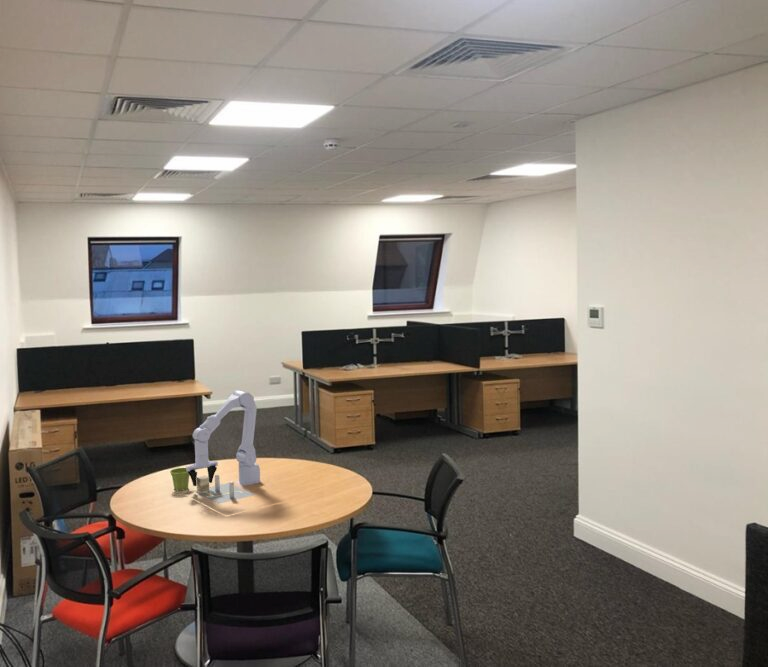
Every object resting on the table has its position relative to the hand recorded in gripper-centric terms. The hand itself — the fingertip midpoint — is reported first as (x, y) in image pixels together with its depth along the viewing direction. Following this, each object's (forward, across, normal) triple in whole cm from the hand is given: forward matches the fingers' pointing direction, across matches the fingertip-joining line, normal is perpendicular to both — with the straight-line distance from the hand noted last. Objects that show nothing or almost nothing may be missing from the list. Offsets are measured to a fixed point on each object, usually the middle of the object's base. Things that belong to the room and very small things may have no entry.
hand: (202, 484), depth 330 cm
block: (+3, 0, 0) cm, 3 cm away
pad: (+4, 0, 0) cm, 4 cm away
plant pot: (+4, +5, -12) cm, 14 cm away
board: (+4, -6, +9) cm, 11 cm away
